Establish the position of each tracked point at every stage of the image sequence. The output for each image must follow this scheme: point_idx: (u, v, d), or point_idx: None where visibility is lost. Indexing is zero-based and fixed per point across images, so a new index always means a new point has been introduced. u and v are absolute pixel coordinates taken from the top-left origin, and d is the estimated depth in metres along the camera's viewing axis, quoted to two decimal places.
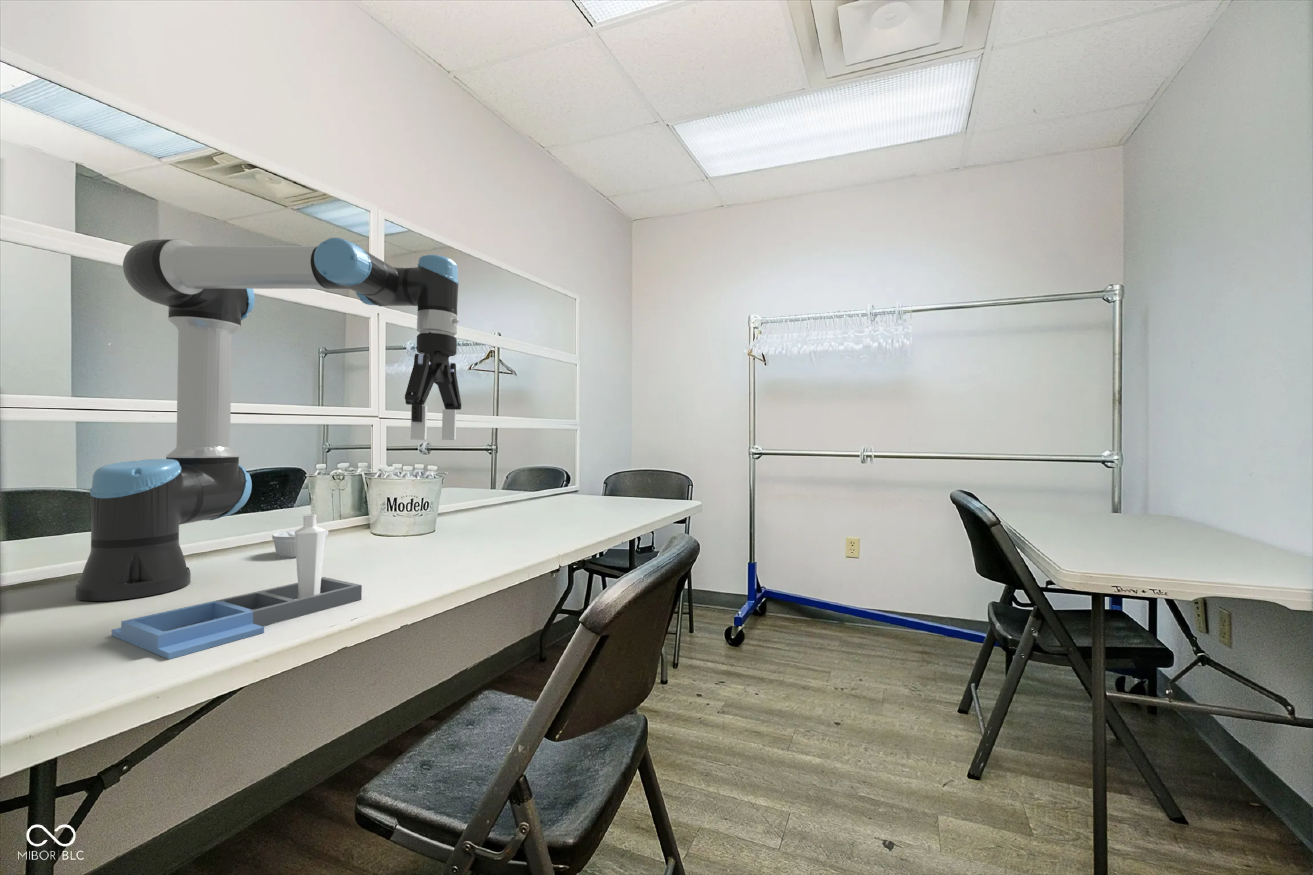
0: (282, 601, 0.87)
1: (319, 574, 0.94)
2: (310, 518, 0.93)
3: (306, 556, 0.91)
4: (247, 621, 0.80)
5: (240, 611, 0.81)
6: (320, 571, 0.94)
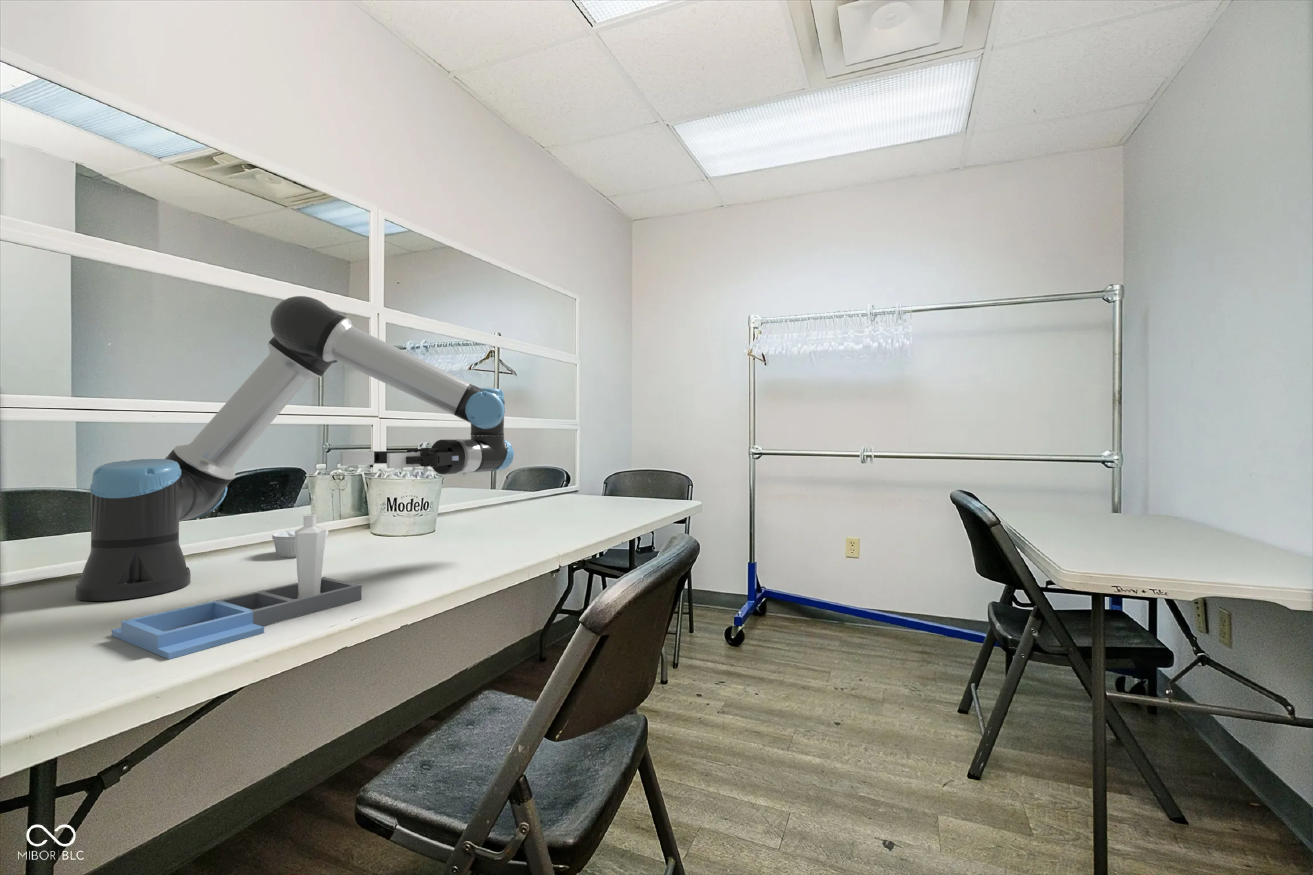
0: (282, 601, 0.87)
1: (319, 574, 0.94)
2: (310, 518, 0.93)
3: (306, 556, 0.91)
4: (247, 621, 0.80)
5: (240, 611, 0.81)
6: (320, 571, 0.94)
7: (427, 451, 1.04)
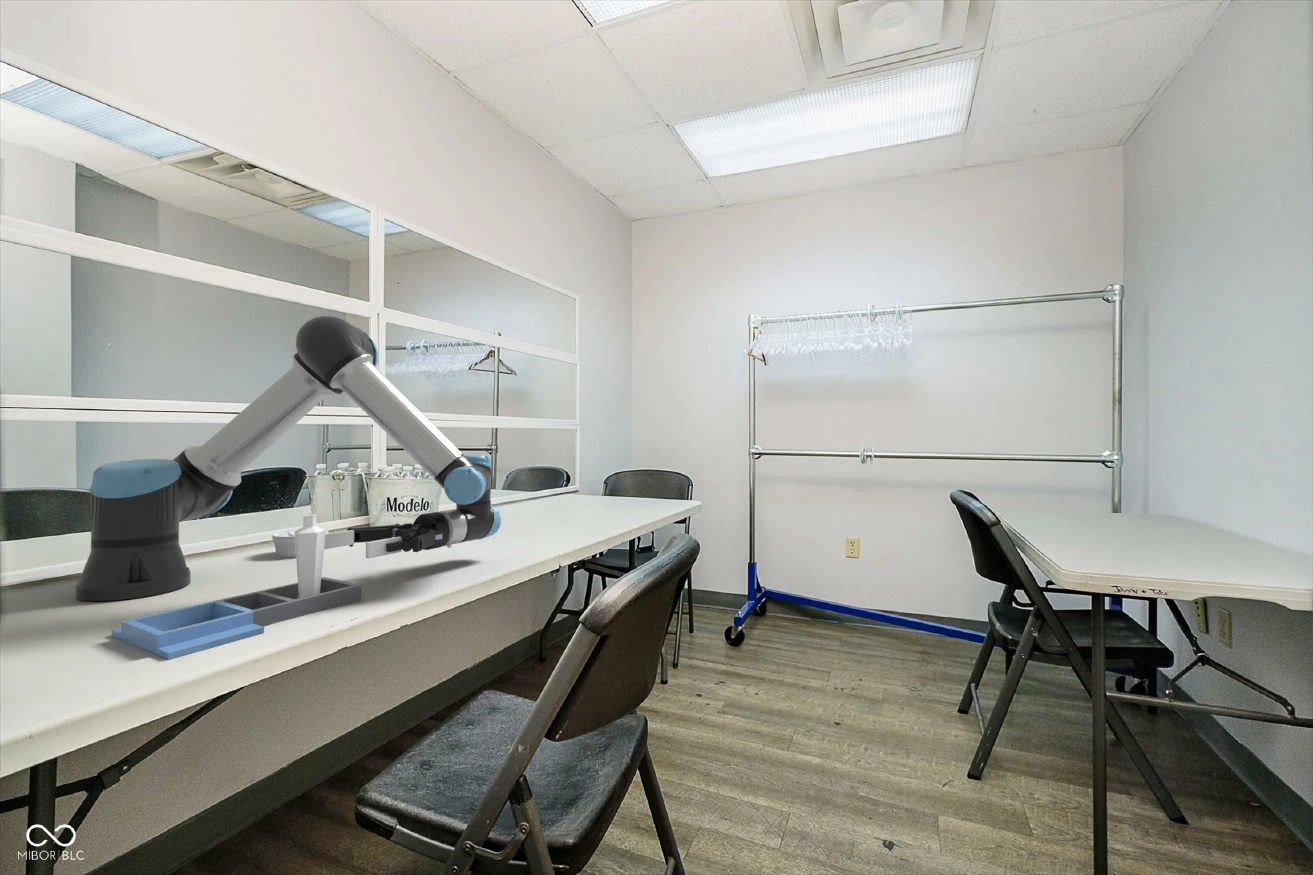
0: (282, 601, 0.87)
1: (319, 574, 0.94)
2: (310, 518, 0.93)
3: (306, 556, 0.91)
4: (247, 621, 0.80)
5: (240, 611, 0.81)
6: (320, 571, 0.94)
7: (408, 535, 1.00)
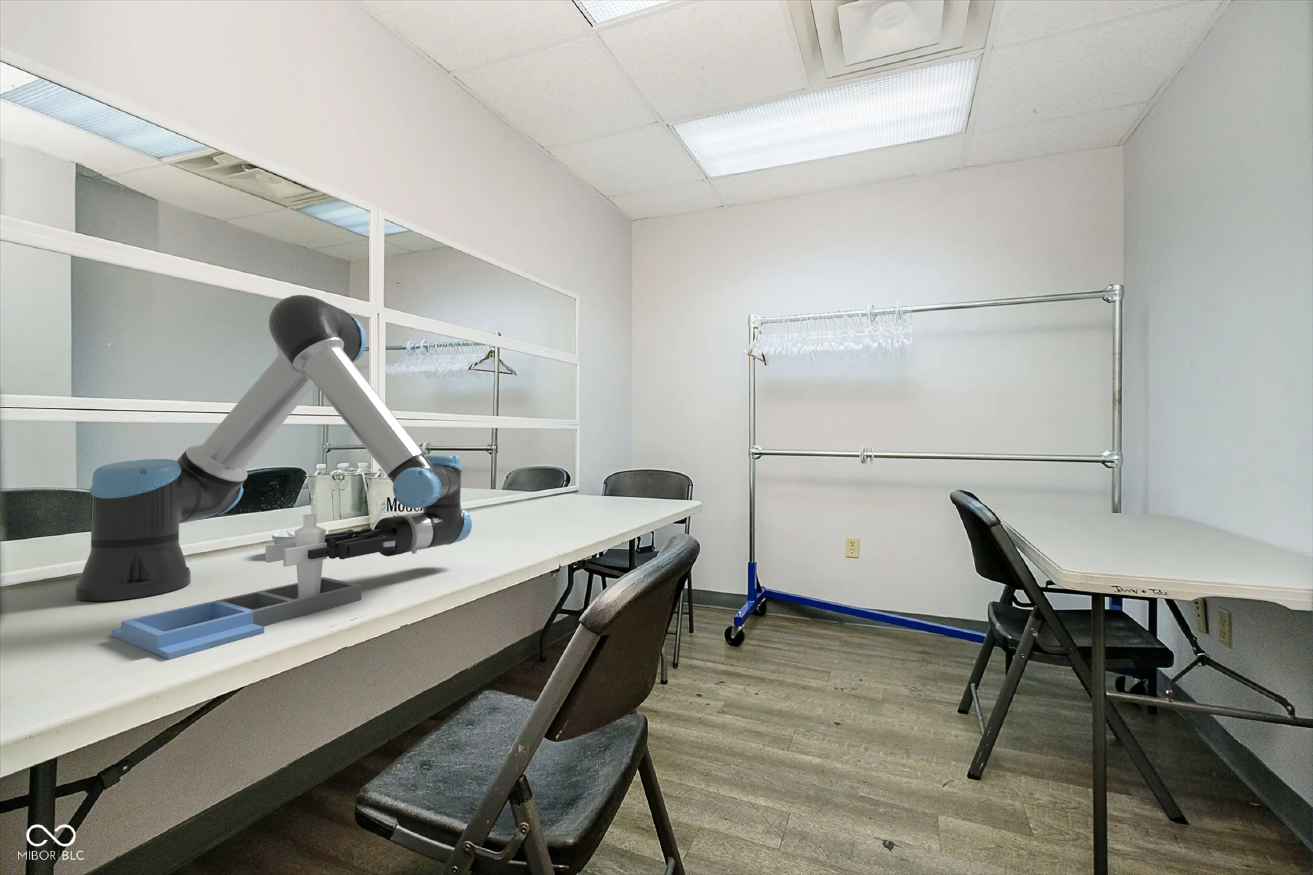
0: (282, 601, 0.87)
1: (319, 574, 0.94)
2: (310, 518, 0.93)
3: None
4: (247, 621, 0.80)
5: (240, 611, 0.81)
6: (320, 571, 0.94)
7: (333, 541, 0.93)
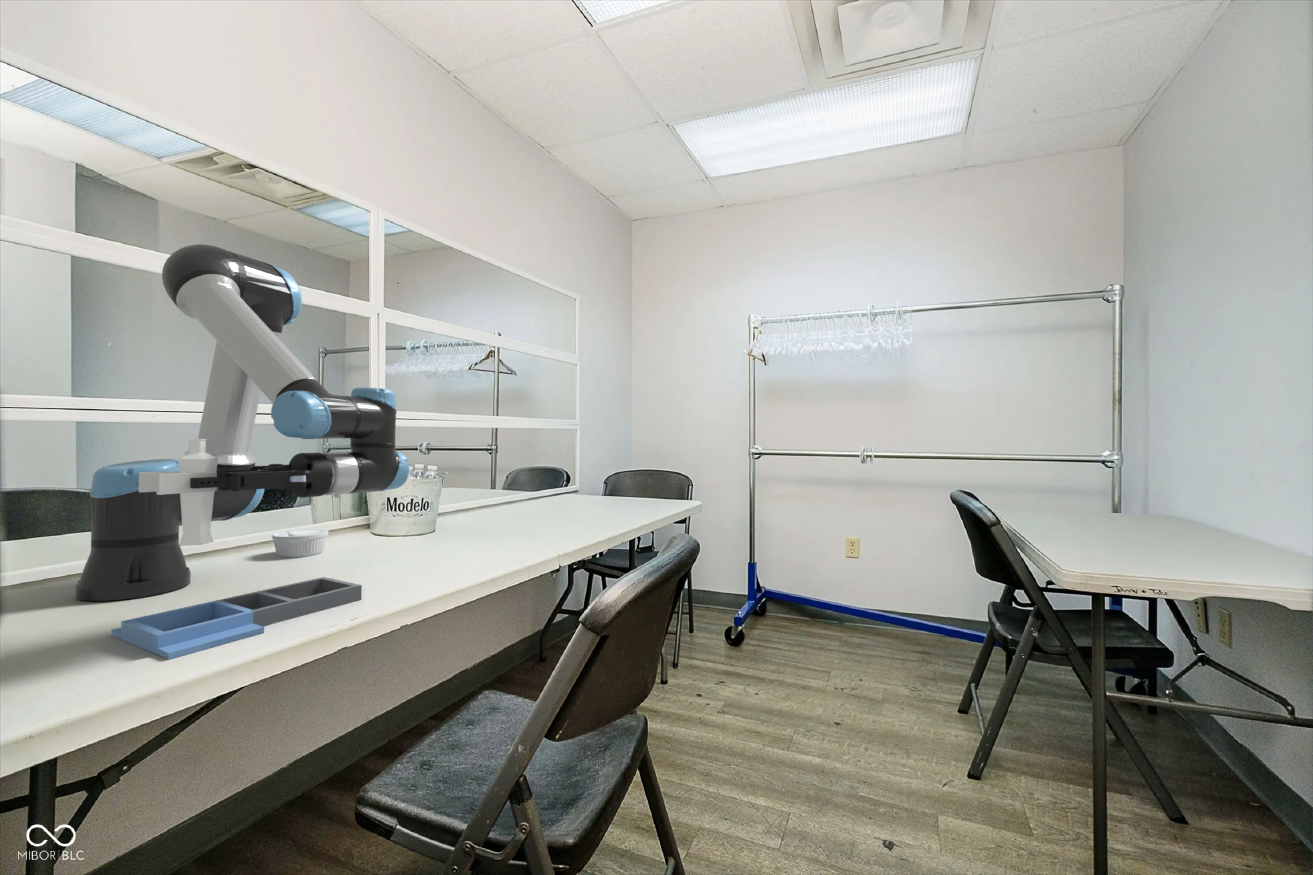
0: (282, 601, 0.87)
1: (208, 509, 0.79)
2: (196, 443, 0.78)
3: None
4: (247, 621, 0.80)
5: (240, 611, 0.81)
6: (210, 506, 0.79)
7: (224, 470, 0.78)
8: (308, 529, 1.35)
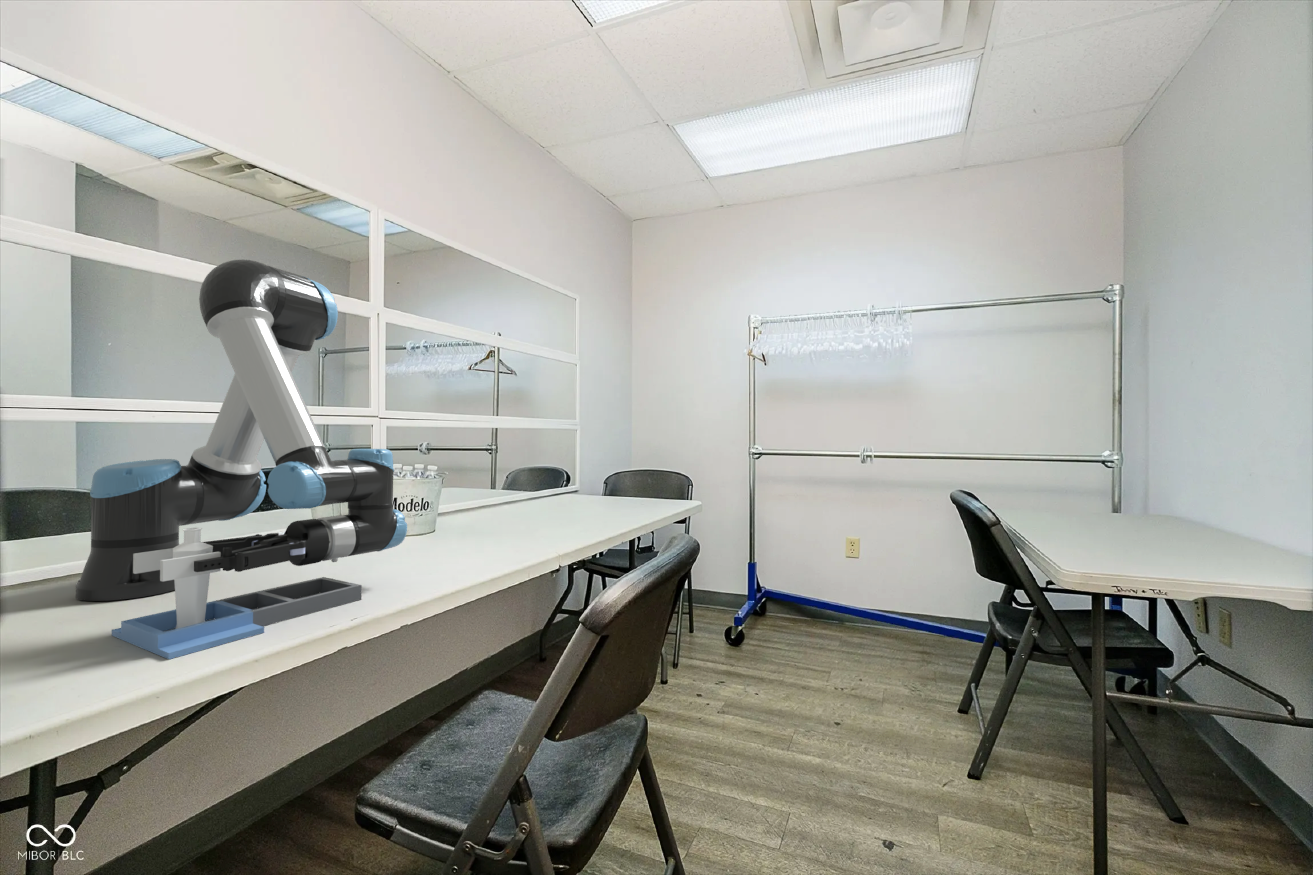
0: (282, 601, 0.87)
1: (203, 599, 0.79)
2: (191, 533, 0.78)
3: (184, 578, 0.77)
4: (247, 621, 0.80)
5: (240, 611, 0.81)
6: (205, 595, 0.79)
7: (228, 550, 0.78)
8: None
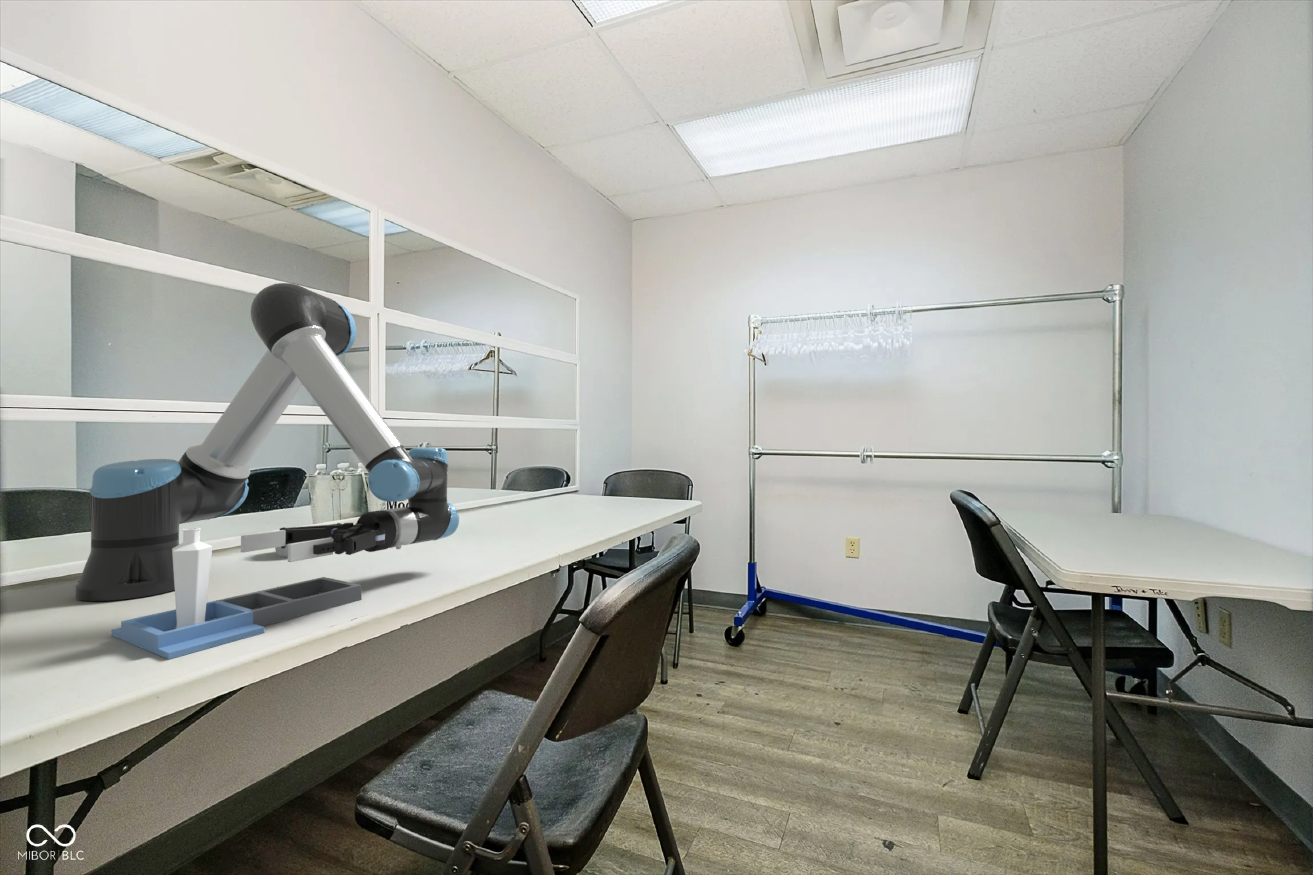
0: (282, 601, 0.87)
1: (203, 599, 0.79)
2: (191, 533, 0.78)
3: (184, 578, 0.77)
4: (247, 621, 0.80)
5: (240, 611, 0.81)
6: (204, 595, 0.79)
7: (341, 536, 0.89)
8: None
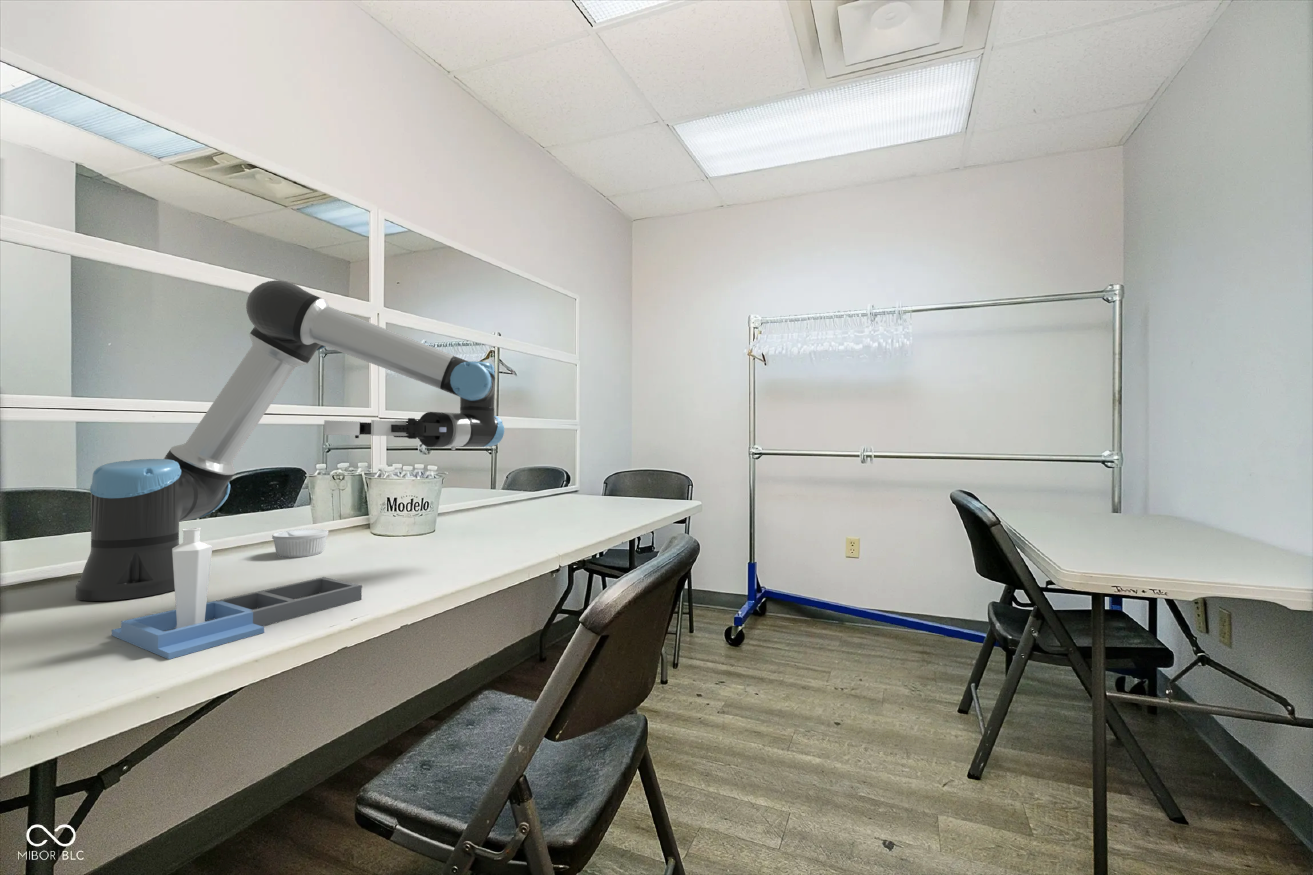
0: (282, 601, 0.87)
1: (203, 599, 0.79)
2: (191, 533, 0.78)
3: (184, 578, 0.77)
4: (247, 621, 0.80)
5: (240, 611, 0.81)
6: (204, 595, 0.79)
7: (413, 420, 1.02)
8: (308, 529, 1.36)
